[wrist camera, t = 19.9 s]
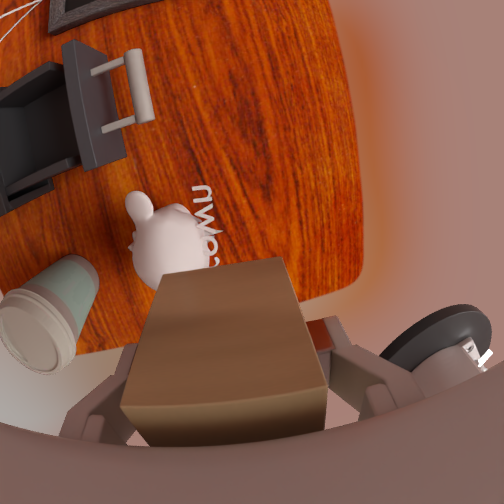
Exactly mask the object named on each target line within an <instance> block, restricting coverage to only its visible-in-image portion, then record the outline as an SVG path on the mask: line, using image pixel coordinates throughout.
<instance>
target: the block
mask: <svg viewBox="0 0 504 504" xmlns="http://www.w3.org/2000/svg"><path fill="white" fill-rule="evenodd" d="M327 392H328V385H327V382H326V379H325V376H324V373H323V370H322V367H321V364H320V361H319V358H318V355H317V353H316V350H315V347H314V344H313V341H312V338H311V336H310V333H309V330H308V327H307V324H306V322H305V319H304V316H303V313H302V310H301V308H300V305H299V302H298V299H297V297H296V294H295V291H294V288H293V286H292V283H291V280H290V277H289V275H288V272H287V269H286V267H285V264H284V261H283V259H282V257H274V258H268V259H261V260H255V261H248V262H242V263H235V264H229V265H222V266H215V267H209V268H202V269H195V270H189V271H182V272H175V273H168V274H163V275H162V278H161V281H160V283H159V286H158V289H157V291H156V294H155V297H154V300H153V302H152V305H151V308H150V311H149V314H148V317H147V319H146V322H145V325H144V328H143V331H142V334H141V337H140V340H139V343H138V346H137V349H136V352H135V356H134V359H133V362H132V365H131V368H130V372H129V375H128V378H127V382H126V385H125V389H124V392H123V395H122V399H121V403H120V408H121V410H122V411H123V413H124V414H125V415H126V417H127V418H128V419H129V421H130V422H131V423H132V425H133V426H134V427H135V429H136V430H137V431H138V432H139V434H140V435H141V436H142V437H143V438H144V440H145V441H146V442H147V444H148V445H149V446H150V447H200V446H219V445H232V444H242V443H251V442H260V441H267V440H274V439H280V438H286V437H292V436H298V435H303V434H308V433H313V432H317V431H322V430H324V428H325V416H326V405H327Z"/></svg>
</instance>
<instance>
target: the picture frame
mask: <svg viewBox="0 0 504 504" xmlns="http://www.w3.org/2000/svg"><path fill="white" fill-rule="evenodd" d="M158 1H162V0H50V10H49V24H48V33H50V34H53V35H55V36H56V35H58V34H60V33H62V32H65V31H67V30H69V29H72V28H74V27H77V26H79V25H82V24H84V23H87V22H89V21H92V20H95V19H98V18H101V17H104V16H107V15H110V14H113V13H116V12H119V11H123V10H126V9H130V8H133V7H137V6H141V5H145V4H149V3H153V2H158Z"/></svg>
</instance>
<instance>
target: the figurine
mask: <svg viewBox="0 0 504 504" xmlns="http://www.w3.org/2000/svg"><path fill="white" fill-rule="evenodd" d="M202 189H206V190H208V192H209V194H208V196H207V197H206V198H198V199H193V201H194V203H196V202H205V201H212V197H210V195H211V188H210V187H209V186H206V185H203V186H195V187H192V191H194V190H202ZM125 206H126V210H127V212H128V214H129V215H130V217H131V218H132V220H133V221H134V224H135V226H136V231H134V232H133V233H132V236H133V240H134V242H133V243H132V244H130V246H129V247H128V249H130V251H132V253H133V258H132V260H133V265H134V268H135V271H136V273H137V274H138V276H139V277H140V278H141V279H142V281H143V282H144V283H145V284H147V285H148V286H149V287H151V288H152V289H154V290H156V291H157V289H158V286H159V283H160V281H161V278H162V275H163V274H168V273H175V272H182V271H189V270H195V269H202V268H209V256H211V255H214V254H215V253H216V251H217V248H218V245H217V242H216V240H215V239H214V237H215V236H209V235H214V234H216V233H219V232H222V231H219V230H214V229H211V228H209V227H206V226H204V225H206V224H208V223H210V222H211V221H213V220H214V217H212V216H209V215H205V214H202V213H204V212H206V211H207V210H209V209H211V208H213V205H212V204H210V205H209V206H207V207H205V208H203V209H202V210H200V211H198V212H197V213H195V215H197V216H200V217H203V218H206V219H208V220H206V221H204V222H202V221H201V220H200V219H198V218H196V217H194V216H192V215H191V214H190V212H189V211H188V210H187V209H186V208H185V207H184V206H183V205H180V204H177V203H175V204H170V205H167V206H165V207H163V208H160V209H158V210H156V211H154V212H153V205H152V203H151V201H150V199H149V198H148V196H147V195H145V194H144V193H143V192H140V191H132V192H130V193H129V194H127V196H126V199H125ZM198 222H202V223H200V224H198ZM209 241H212V242H213V243H214V250H213V251H211V252H210V250H209V249H208V245H207V243H208V242H209ZM214 259H215V261H216V265H215V266H217V265H218V264H219V259H218V257H216V258H214ZM215 266H213V267H215Z"/></svg>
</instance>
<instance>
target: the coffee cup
mask: <svg viewBox="0 0 504 504" xmlns="http://www.w3.org/2000/svg"><path fill="white" fill-rule="evenodd" d="M98 289H99V278H98V274H97V272H96V270H95V268H94V267H93V266H92V264H91V263H90V262H89V261H87V260H86V259H85V258H83V257H81V256H78V255H73V254H71V255H66V256H64V257H63V258H61V259H60V260H58V261H57V262H55V263H53V264H52V265H51V266H49V267H48V268H46V269H45V270H43V271H42V272H40V273H39V274H37V275H36V276H35V277H33V278H32V279H30V280H29V281H28V282H26V283H25V284H23V285H22V286H21V287H19V288H18V289H13V290H11V291H9V292H8V293H7V294H6V295H5V296H4V298H3V300H2V301H1V303H0V338H1V340H2V342H3V344H4V345H5V347H6V348H7V350H8V351H9V352H10V353H11V355H12V356H13V357H14V358H15V359H16V360H17V361H19V362H20V363H21V364H23V365H24V366H25V367H27V368H28V369H30V370H32V371H34V372H37V373H40V374H44V375H51V374H56V373H57V372H59V371H60V370H61V369H62V368H65V367H66V366H67V365H68V364H69V363H70V362H71V361H72V360H73V358H74V357H75V353H76V343H77V340H78V338H79V335H80V332H81V330H82V327H83V325H84V322H85V320H86V318H87V315H88V313H89V310H90V308H91V306H92V303H93V301H94V299H95V296H96V294H97V292H98Z"/></svg>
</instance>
